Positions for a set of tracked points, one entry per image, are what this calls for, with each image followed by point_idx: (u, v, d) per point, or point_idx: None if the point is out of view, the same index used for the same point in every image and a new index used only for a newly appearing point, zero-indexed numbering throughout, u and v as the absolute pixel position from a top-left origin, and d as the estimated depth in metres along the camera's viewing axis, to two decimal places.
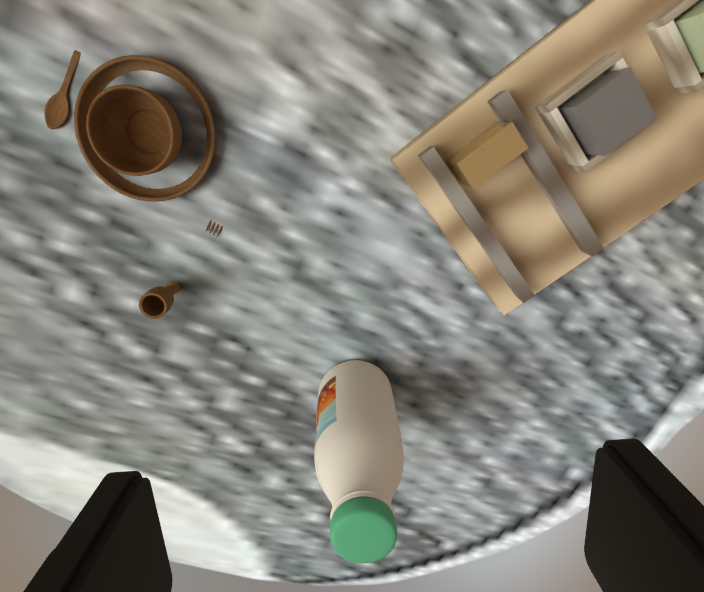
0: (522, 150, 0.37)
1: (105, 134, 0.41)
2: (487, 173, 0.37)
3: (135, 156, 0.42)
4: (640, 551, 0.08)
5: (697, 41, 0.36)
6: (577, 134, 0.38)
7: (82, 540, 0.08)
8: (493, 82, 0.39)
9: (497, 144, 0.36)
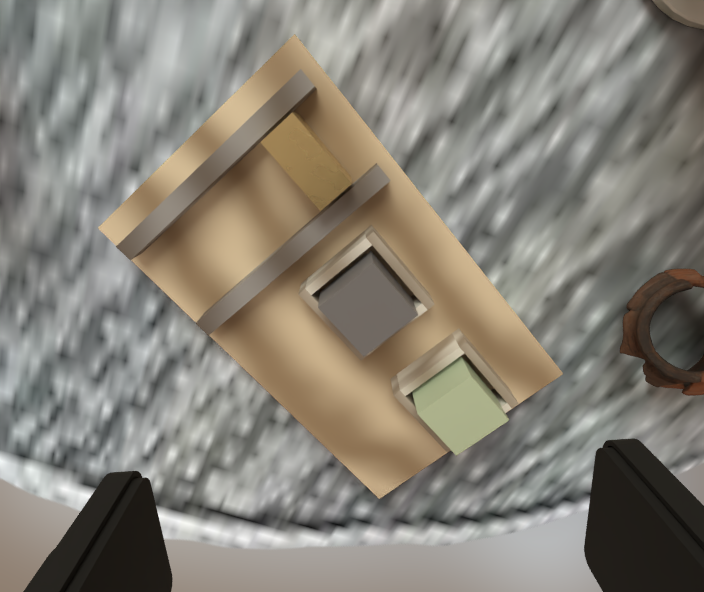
0: (316, 203, 0.28)
1: None
2: (283, 159, 0.27)
3: None
4: (640, 551, 0.08)
5: (443, 380, 0.33)
6: (342, 276, 0.31)
7: (82, 540, 0.08)
8: (398, 168, 0.31)
9: (322, 167, 0.27)
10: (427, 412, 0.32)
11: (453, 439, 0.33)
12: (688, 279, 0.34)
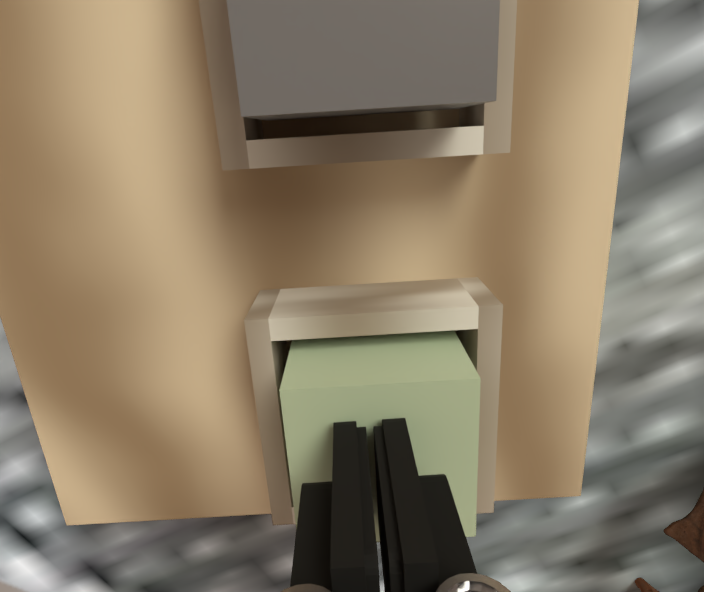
0: None
1: None
2: None
3: None
4: (380, 514, 0.09)
5: (389, 352, 0.12)
6: None
7: (351, 471, 0.09)
8: None
9: None
10: (306, 401, 0.11)
11: None
12: None
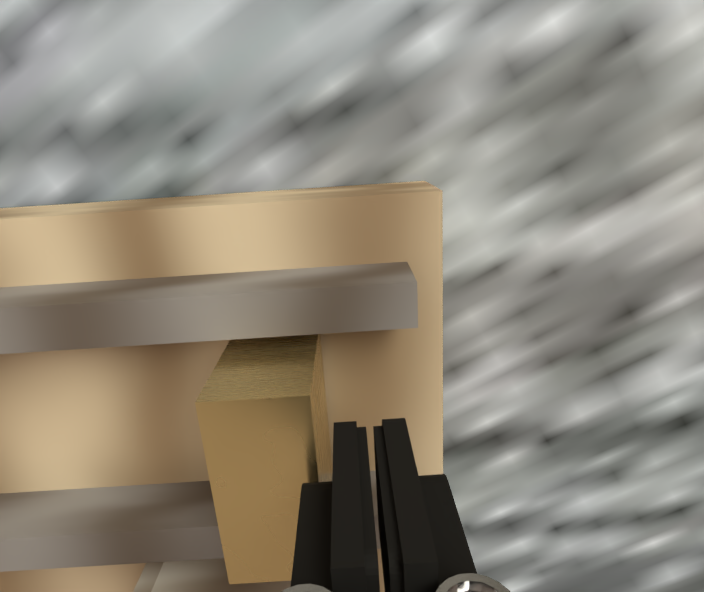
0: (232, 568, 0.11)
1: None
2: (221, 461, 0.10)
3: None
4: (380, 514, 0.09)
5: None
6: None
7: (351, 471, 0.09)
8: None
9: (293, 522, 0.11)
10: None
11: None
12: None
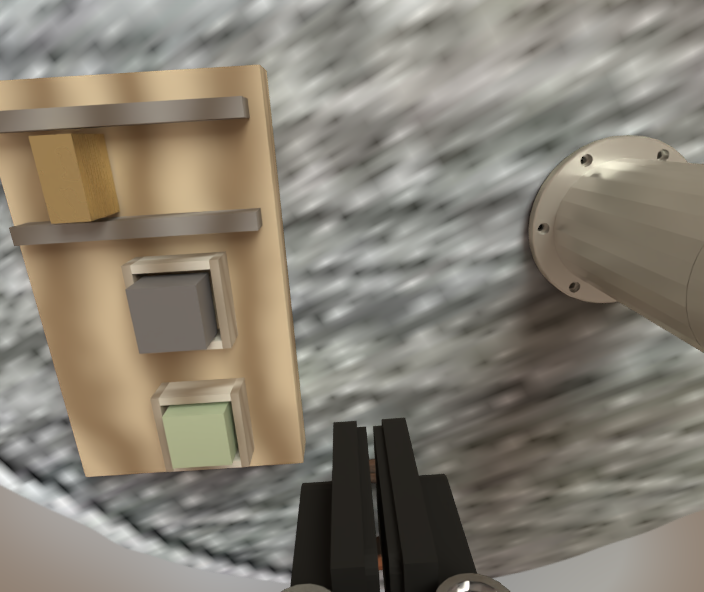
0: (51, 216, 0.29)
1: None
2: (41, 162, 0.28)
3: None
4: (380, 514, 0.09)
5: (203, 403, 0.36)
6: (169, 276, 0.32)
7: (351, 471, 0.09)
8: (275, 224, 0.33)
9: (72, 192, 0.28)
10: (170, 420, 0.34)
11: (178, 454, 0.35)
12: None
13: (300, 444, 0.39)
